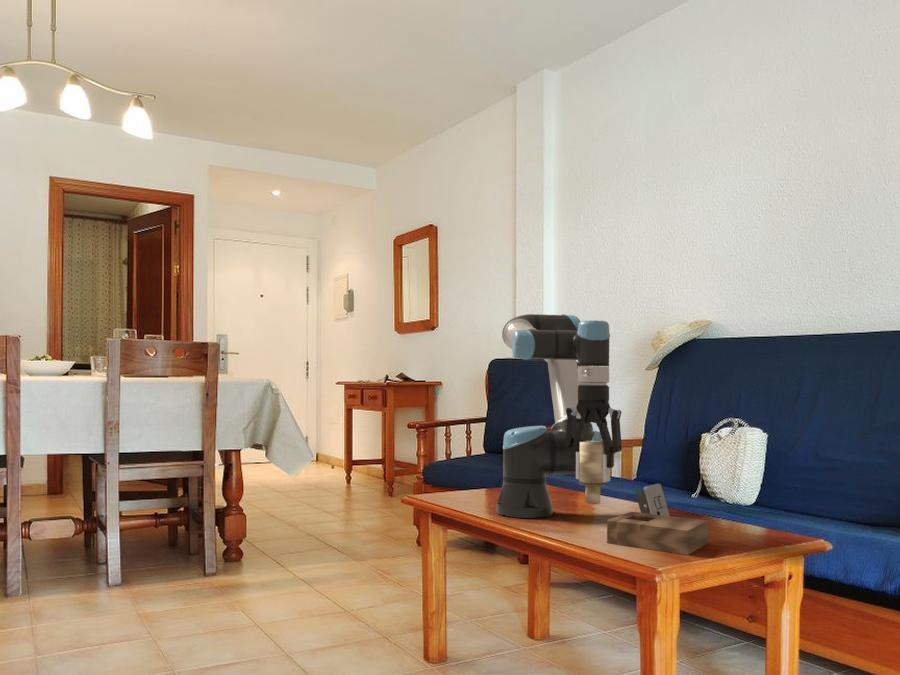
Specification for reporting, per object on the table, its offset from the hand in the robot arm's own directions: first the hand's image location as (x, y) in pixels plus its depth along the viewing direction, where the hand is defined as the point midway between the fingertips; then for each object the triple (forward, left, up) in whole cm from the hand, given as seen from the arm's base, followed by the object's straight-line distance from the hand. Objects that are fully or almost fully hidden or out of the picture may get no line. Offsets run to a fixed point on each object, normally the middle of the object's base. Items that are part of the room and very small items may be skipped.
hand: (592, 479), depth 178 cm
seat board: (+17, -3, -12) cm, 21 cm away
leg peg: (0, 0, -6) cm, 6 cm away
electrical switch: (+6, +23, -12) cm, 27 cm away
